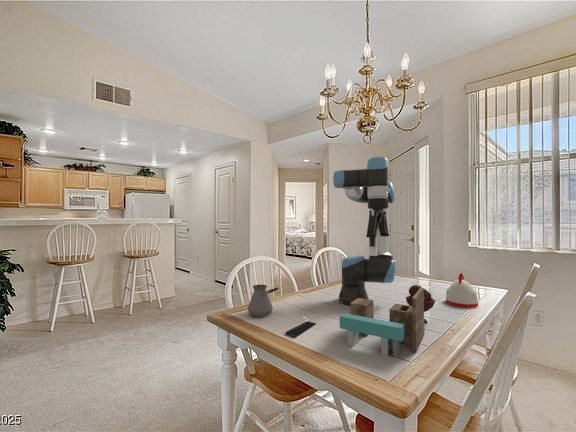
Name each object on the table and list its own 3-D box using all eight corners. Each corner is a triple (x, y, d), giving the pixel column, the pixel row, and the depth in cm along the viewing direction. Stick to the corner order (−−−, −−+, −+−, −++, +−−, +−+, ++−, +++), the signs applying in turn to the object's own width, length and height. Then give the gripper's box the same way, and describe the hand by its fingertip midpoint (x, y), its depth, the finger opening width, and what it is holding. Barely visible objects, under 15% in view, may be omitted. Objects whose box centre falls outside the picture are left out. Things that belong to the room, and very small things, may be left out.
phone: (323, 325, 115) (300, 337, 103) (323, 328, 115) (300, 340, 103) (307, 321, 120) (284, 332, 108) (307, 323, 120) (284, 335, 108)
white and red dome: (442, 303, 144) (442, 273, 144) (449, 298, 154) (449, 269, 154) (475, 309, 134) (475, 277, 134) (480, 302, 145) (480, 273, 145)
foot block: (350, 335, 106) (350, 303, 106) (358, 328, 113) (358, 297, 113) (366, 339, 103) (366, 305, 103) (373, 331, 109) (373, 300, 110)
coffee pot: (243, 313, 132) (242, 280, 132) (264, 308, 139) (264, 277, 139) (266, 327, 115) (266, 290, 115) (290, 321, 121) (289, 285, 122)
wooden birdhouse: (386, 349, 95) (386, 294, 95) (398, 332, 108) (397, 284, 108) (416, 356, 90) (415, 298, 90) (424, 338, 103) (423, 287, 103)
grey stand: (347, 348, 96) (347, 330, 96) (353, 343, 100) (352, 325, 100) (387, 358, 89) (387, 339, 89) (391, 352, 93) (391, 333, 93)
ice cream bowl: (423, 328, 112) (423, 289, 112) (400, 319, 122) (400, 284, 122) (441, 323, 117) (440, 286, 117) (417, 315, 127) (417, 281, 127)
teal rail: (339, 343, 98) (339, 316, 98) (344, 338, 101) (344, 312, 101) (401, 358, 87) (401, 328, 87) (404, 352, 90) (404, 323, 90)
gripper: (378, 194, 97) (379, 257, 97) (395, 200, 118) (396, 252, 117) (357, 196, 101) (357, 256, 101) (377, 201, 122) (378, 251, 122)
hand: (378, 254), depth 109 cm, fingers open, 13 cm apart
